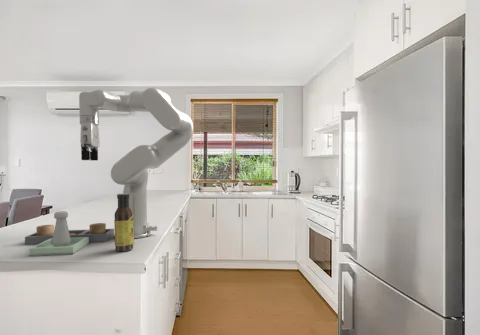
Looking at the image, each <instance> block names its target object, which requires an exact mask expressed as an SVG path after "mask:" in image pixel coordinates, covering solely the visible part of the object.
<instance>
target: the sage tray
mask: <svg viewBox="0 0 480 335" xmlns="http://www.w3.org/2000/svg"><path fill="white" fill-rule="evenodd" d="M52 239H53V238H51V239H48V240H46V241H44V242H42V243H40V244H35V245H33V246H32V247H29V248H28V249H29V250H28V255H29V257H40V256H62V255H63V256H65V255H67V256H68V255H75V254H76V253H78V252H79V251H80V250H83V248H85V247H86V246H88V245H89V244H90V242H89V237H78V238H70V239H71V241H70V244H69V246H64V247H54V245H53V244H52Z"/></svg>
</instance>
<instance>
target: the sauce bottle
mask: <svg viewBox="0 0 480 335" xmlns="http://www.w3.org/2000/svg"><path fill="white" fill-rule="evenodd" d="M116 198H117V208H116V210H115V212H114V222H113V223H114V246H115V251H116V252H121V253H122V252H127V251H131V250H133V248H134V243H135V242H134V241H135V240H134V239H135V238H134V233H133V232H134V231H133V213H132V210H131V209H130V207H129V194H123V193H117V194H116Z"/></svg>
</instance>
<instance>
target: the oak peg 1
mask: <svg viewBox="0 0 480 335" xmlns="http://www.w3.org/2000/svg"><path fill="white" fill-rule="evenodd" d="M35 230H36V232H37V236H51V235H53V234H54V230H55V224H44V225H43V224H42V225H38V226H36V229H35Z"/></svg>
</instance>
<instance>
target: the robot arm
mask: <svg viewBox="0 0 480 335" xmlns="http://www.w3.org/2000/svg"><path fill="white" fill-rule="evenodd" d="M78 100H79V102H78V106H79V108H78V109H79V125H80V140H79V141H80V147H81V148H80V151H81V161H99V149H98V148H99V147H100V145H101V143H100V130H99V126H100V125H99V124H100V117H99V116H100V115H99V114H100V112H99V109H104V110H108V111H111V112H118V113H119V112H120V113H121V112H122V113H123V112H124V113H133V112H143V113H145V112H148V113H150V114H151V116H153V118H154V119H156V121H157V122H158V123H159V124H160V125H161V126H162V127H163V128H164V129H167V130H169V131H170V132H169V133H167V134H165V135H163V136H162V137H161V138H160V139H159V140H157V141H155V142H154V143H152V144H150V145H148V144H141V145H138V146H136V147H135V148H133V149H131V150H130V151H129V152H128V153H125V155H124V156H123V157H121V158H120V159H119V160H118V161H116V162H115V163H114V164H113V165H112V167H111V170H110V177H111V179H112V181H113V182H114V183H115V184H117V185H121V186H122V185H123V190H122V194H129V207H130V209H131V210H132V213H133V231H134V232H133V233H134V239H140V238H145V237H149V236H150V235H152V232H157V231H158V225H150V224H149V222H148V212H147V209H148V206H147V205H148V204H147V200H148V199H147V198H148V197H147V196H148V195H147V190H148V189H147V186H148V181H149V180H148V178H149V170H150V169H151V170H153V169H158V168H159V167H160V166H162V165H163V164H164V163H165V162H166V161H168V160H169V159H171V158H172V157H173V156H174V155H175V154H176V153H177V152H179V151H180V150H181V149H183V148H184V147H185V146H186V145H187V144H188V143H189V142H190V140H191V139H192V136H193V134H194V124H193V120H192V119H191V117H190V116H189V114H187V113H185V112H183V111H181V110H179V109H177V108H176V107H175V106H174V105H173V104H172V98H171V97H170V95H169V94H168V93H166V91H164V90H161V89H159V88H156V87H148V88H146V89H144V90H133V91H131V92H130V94H129V95H127V94H126V95H125V94H123V95H122V94H114V93H113V92H110V91H107V90H104V89H96V90H92V91H81V92H80V93H79V95H78Z"/></svg>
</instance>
